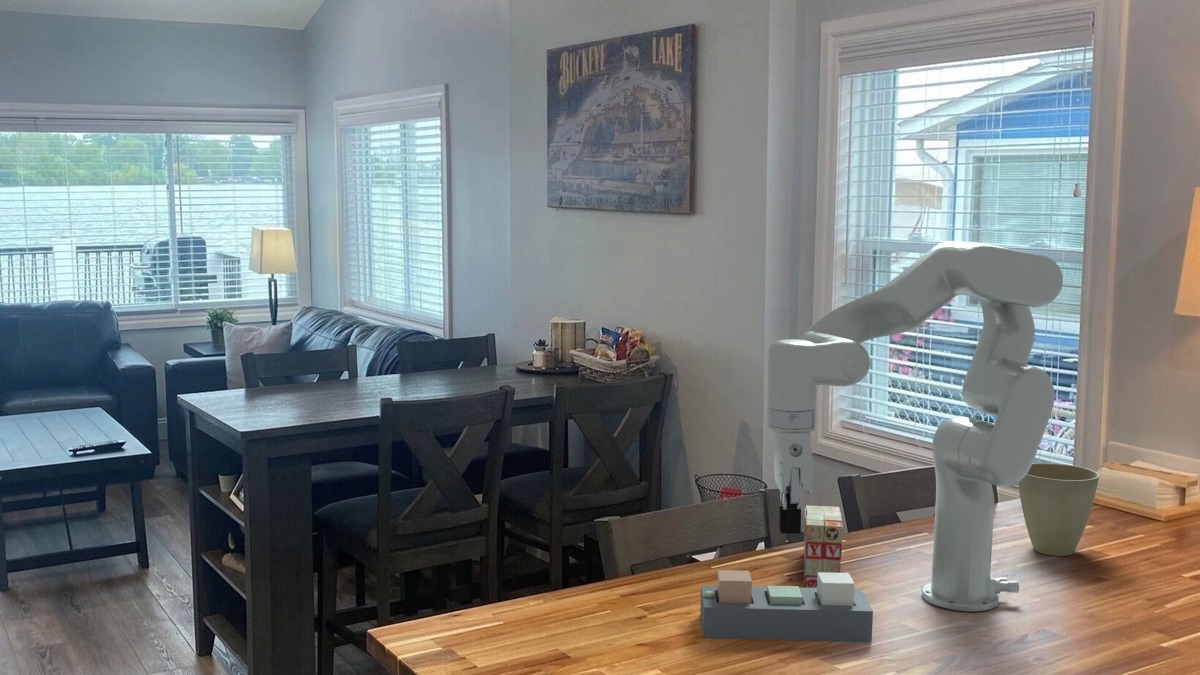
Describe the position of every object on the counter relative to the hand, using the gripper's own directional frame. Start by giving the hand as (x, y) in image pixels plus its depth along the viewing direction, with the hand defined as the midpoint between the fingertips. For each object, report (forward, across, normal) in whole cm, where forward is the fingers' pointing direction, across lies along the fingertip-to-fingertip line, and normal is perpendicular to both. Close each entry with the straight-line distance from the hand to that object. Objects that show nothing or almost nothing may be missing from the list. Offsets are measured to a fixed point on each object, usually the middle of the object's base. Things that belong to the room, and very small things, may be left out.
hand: (789, 531), depth 182 cm
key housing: (+16, -1, +1) cm, 16 cm away
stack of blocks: (+16, +27, -10) cm, 33 cm away
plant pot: (+17, +42, -58) cm, 73 cm away
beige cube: (+12, -1, +9) cm, 15 cm away
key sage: (+14, -1, +1) cm, 14 cm away
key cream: (+12, -1, -7) cm, 14 cm away
